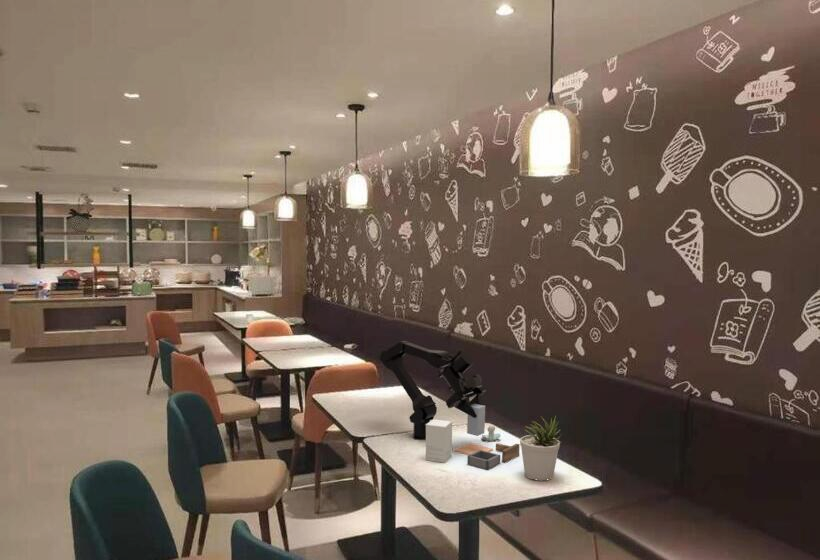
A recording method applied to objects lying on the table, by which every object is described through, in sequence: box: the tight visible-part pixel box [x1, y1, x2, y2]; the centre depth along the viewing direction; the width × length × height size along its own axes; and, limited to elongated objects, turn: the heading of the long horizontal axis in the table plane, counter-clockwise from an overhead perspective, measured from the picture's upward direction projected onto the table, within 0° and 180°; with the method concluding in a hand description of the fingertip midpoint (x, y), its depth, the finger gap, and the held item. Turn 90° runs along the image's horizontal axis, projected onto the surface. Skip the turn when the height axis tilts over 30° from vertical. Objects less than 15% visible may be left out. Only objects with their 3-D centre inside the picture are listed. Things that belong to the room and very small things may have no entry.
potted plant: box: [519, 415, 563, 481], centre depth 188 cm, size 13×14×20 cm
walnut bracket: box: [495, 442, 521, 464], centre depth 208 cm, size 9×10×4 cm
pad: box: [454, 442, 494, 456], centre depth 213 cm, size 10×10×1 cm
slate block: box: [466, 404, 486, 437], centre depth 212 cm, size 4×4×10 cm
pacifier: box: [480, 424, 502, 442], centre depth 226 cm, size 7×6×6 cm
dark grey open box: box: [467, 450, 501, 471], centre depth 200 cm, size 8×8×3 cm
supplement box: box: [425, 418, 453, 464], centre depth 204 cm, size 7×7×13 cm
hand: (479, 416), depth 211 cm, fingers closed on slate block, 4 cm apart
